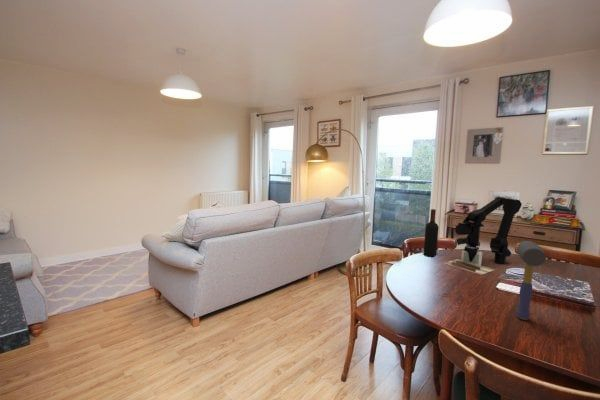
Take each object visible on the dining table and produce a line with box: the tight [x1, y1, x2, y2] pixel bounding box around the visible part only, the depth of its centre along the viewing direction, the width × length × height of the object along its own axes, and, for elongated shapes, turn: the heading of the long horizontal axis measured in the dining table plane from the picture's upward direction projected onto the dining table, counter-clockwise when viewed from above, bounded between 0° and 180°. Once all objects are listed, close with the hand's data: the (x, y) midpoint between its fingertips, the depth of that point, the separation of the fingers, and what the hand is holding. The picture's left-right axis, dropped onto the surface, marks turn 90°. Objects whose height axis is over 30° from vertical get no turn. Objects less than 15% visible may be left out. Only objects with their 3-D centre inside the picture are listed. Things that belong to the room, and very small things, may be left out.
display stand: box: [444, 258, 496, 276], centre depth 168 cm, size 15×21×2 cm
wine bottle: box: [423, 208, 439, 258], centre depth 188 cm, size 8×8×30 cm
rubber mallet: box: [516, 240, 547, 321], centre depth 112 cm, size 12×8×30 cm, turn 152°
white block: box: [460, 248, 483, 267], centre depth 171 cm, size 10×3×8 cm, turn 54°
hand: (471, 260), depth 171 cm, fingers open, 5 cm apart
